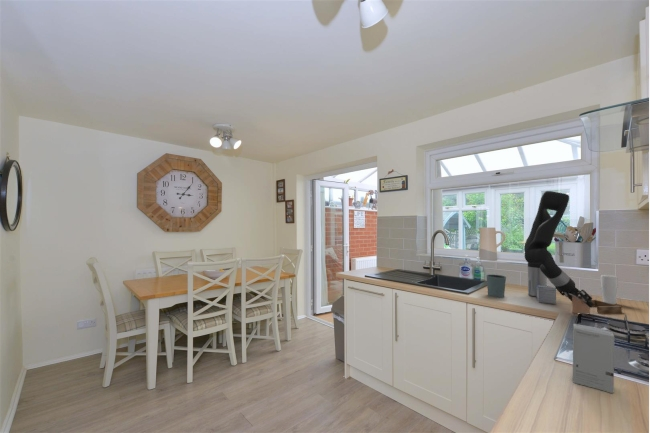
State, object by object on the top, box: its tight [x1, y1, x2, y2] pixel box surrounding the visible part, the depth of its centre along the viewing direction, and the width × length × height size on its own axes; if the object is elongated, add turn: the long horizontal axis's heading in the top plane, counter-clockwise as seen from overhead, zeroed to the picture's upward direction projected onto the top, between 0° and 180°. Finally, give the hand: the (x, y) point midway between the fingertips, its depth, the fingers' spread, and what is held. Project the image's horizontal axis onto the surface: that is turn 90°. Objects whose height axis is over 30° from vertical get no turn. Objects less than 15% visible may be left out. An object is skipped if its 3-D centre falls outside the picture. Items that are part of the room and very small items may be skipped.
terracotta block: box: [571, 295, 591, 315], centre depth 141 cm, size 4×4×9 cm
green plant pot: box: [486, 274, 507, 298], centre depth 176 cm, size 10×10×12 cm
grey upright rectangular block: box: [572, 323, 615, 394], centre depth 79 cm, size 8×6×15 cm
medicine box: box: [536, 285, 557, 305], centre depth 162 cm, size 8×4×9 cm, turn 65°
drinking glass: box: [600, 274, 619, 305], centre depth 160 cm, size 7×7×15 cm
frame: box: [591, 299, 623, 314], centre depth 148 cm, size 12×13×3 cm
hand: (583, 303), depth 141 cm, fingers open, 8 cm apart
